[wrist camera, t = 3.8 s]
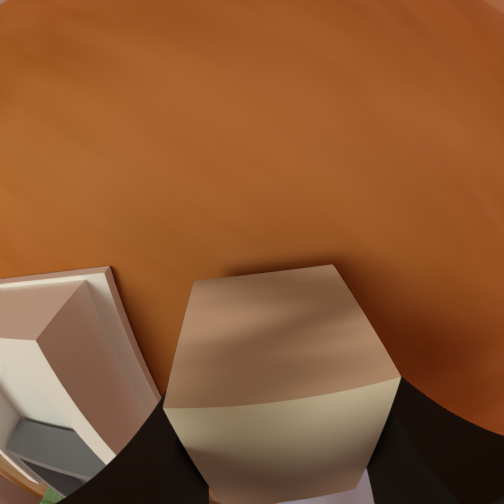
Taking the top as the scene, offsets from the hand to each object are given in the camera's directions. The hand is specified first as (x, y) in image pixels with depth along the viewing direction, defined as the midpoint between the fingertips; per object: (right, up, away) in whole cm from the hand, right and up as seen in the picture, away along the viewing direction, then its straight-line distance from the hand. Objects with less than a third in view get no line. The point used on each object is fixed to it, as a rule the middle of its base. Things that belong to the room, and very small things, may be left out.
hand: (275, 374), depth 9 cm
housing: (-13, -6, +5) cm, 16 cm away
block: (0, +1, +1) cm, 2 cm away
